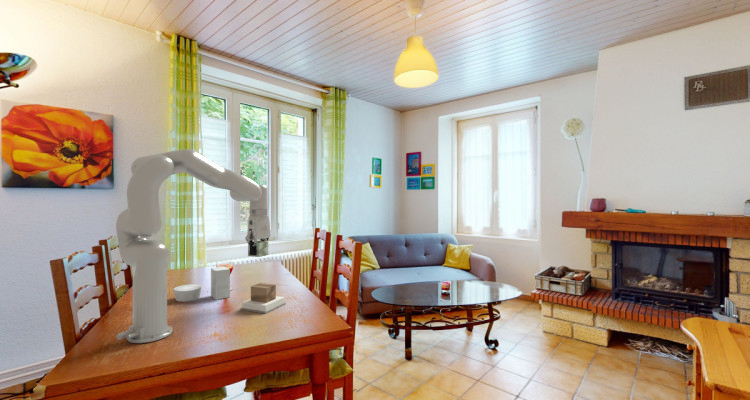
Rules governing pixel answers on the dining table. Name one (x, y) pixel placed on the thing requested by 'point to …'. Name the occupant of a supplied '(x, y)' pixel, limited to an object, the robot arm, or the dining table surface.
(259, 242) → the sage cube
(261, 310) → the plinth
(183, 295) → the ramekin
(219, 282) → the small box
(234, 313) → the dining table surface
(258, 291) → the walnut brick
